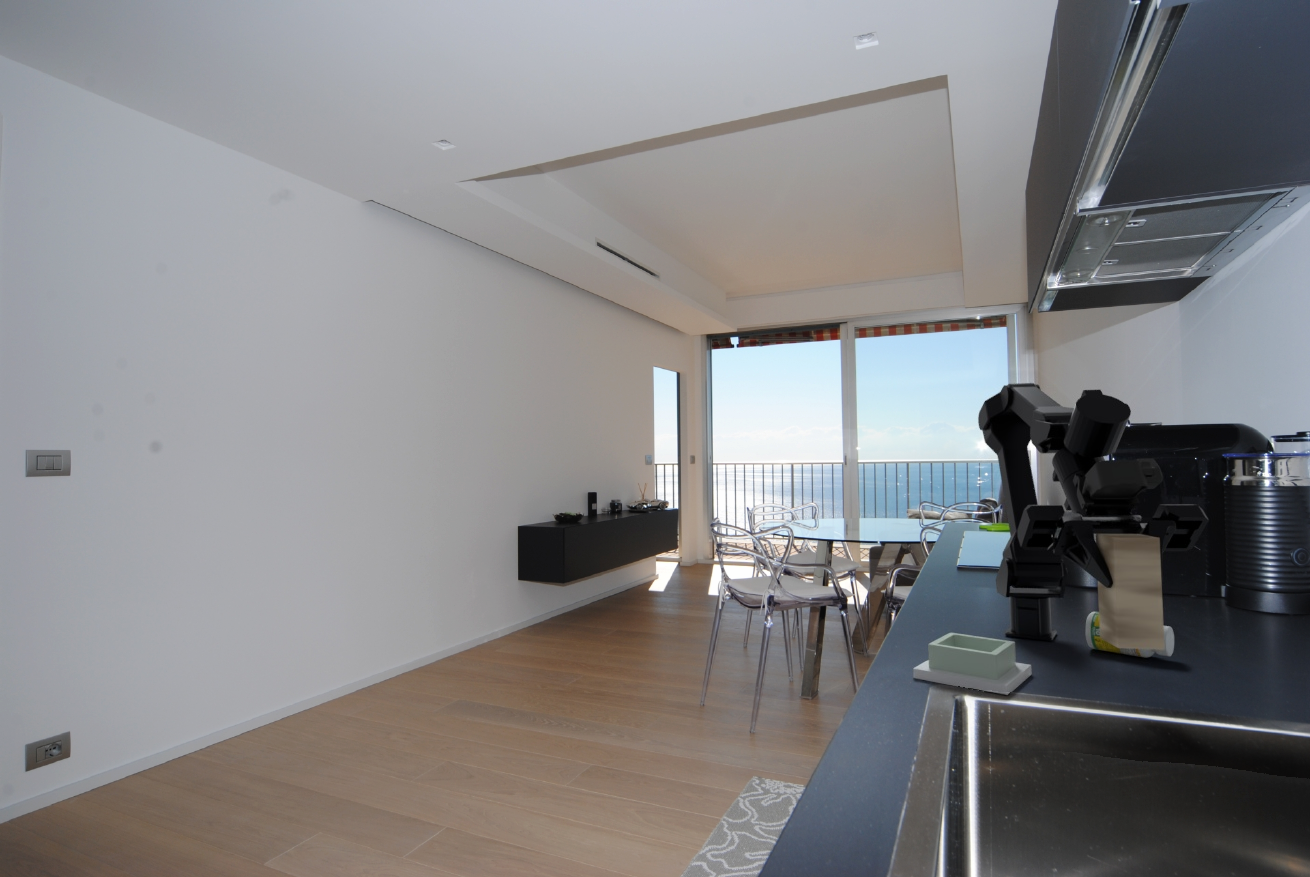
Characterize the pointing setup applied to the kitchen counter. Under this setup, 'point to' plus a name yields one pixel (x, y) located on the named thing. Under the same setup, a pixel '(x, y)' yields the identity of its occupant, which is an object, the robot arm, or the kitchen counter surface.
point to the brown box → (1131, 592)
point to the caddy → (973, 663)
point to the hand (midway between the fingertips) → (1134, 586)
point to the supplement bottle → (1100, 644)
